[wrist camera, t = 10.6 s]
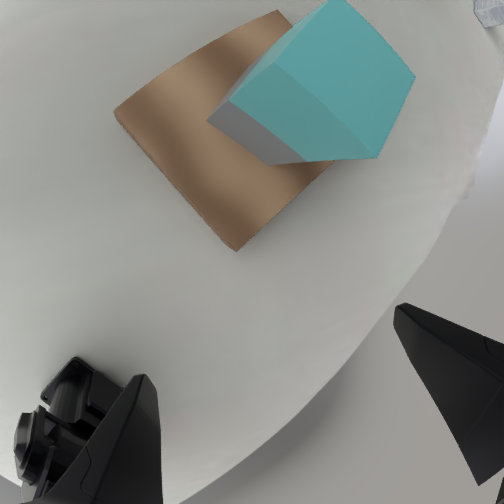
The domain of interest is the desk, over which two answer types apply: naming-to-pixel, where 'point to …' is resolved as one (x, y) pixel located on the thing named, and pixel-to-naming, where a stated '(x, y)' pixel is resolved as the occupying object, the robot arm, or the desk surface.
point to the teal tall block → (318, 92)
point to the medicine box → (490, 12)
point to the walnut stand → (214, 136)
